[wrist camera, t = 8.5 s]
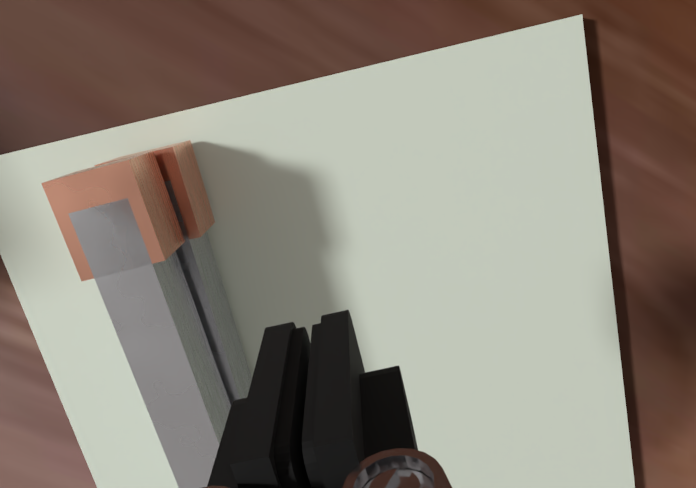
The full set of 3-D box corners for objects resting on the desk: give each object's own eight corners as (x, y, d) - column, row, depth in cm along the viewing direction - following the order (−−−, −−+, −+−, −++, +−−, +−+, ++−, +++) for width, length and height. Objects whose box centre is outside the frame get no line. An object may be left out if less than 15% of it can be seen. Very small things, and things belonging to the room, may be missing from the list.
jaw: (75, 171, 18) (41, 182, 16) (153, 150, 18) (128, 159, 16) (245, 605, 23) (234, 654, 21) (308, 592, 22) (303, 641, 21)
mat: (-27, 161, 21) (-37, 164, 21) (575, 16, 19) (582, 14, 19) (186, 681, 28) (182, 693, 28) (643, 607, 26) (649, 619, 26)
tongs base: (129, 153, 21) (52, 179, 16) (197, 137, 21) (142, 158, 16) (283, 615, 27) (265, 746, 22) (337, 606, 27) (332, 736, 21)
